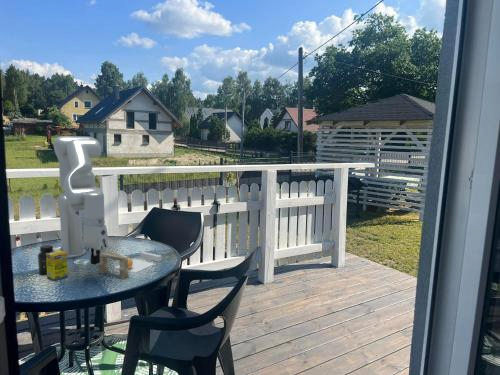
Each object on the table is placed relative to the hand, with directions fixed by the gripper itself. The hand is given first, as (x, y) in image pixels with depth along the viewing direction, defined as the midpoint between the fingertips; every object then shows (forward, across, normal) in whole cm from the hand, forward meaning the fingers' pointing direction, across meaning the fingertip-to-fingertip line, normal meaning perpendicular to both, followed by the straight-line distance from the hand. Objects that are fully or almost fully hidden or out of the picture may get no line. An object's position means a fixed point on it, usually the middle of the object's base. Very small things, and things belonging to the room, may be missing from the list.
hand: (95, 263), depth 156 cm
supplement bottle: (+9, +25, +4) cm, 27 cm away
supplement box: (+8, +16, +6) cm, 19 cm away
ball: (+5, -1, -16) cm, 17 cm away
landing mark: (+8, -1, -21) cm, 23 cm away
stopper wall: (+8, -1, -32) cm, 33 cm away
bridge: (+8, -1, -8) cm, 11 cm away
